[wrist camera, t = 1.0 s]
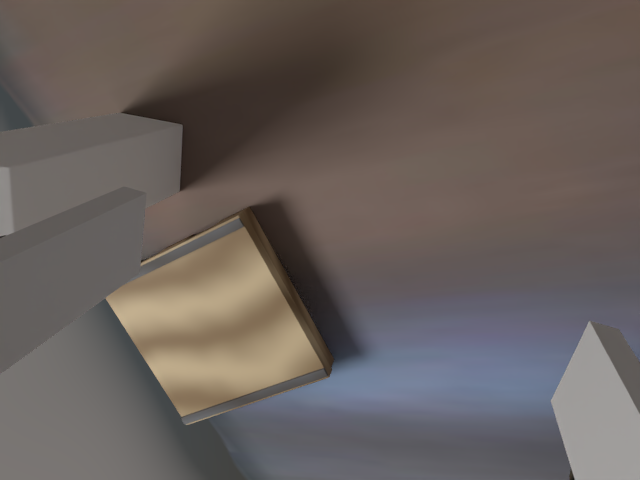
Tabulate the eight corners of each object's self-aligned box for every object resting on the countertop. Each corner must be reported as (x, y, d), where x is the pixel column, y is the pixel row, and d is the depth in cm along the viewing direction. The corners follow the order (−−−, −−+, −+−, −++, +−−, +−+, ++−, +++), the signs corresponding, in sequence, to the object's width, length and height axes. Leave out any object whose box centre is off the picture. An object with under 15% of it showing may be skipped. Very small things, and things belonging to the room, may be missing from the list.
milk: (184, 123, 43) (-43, 179, 23) (180, 192, 45) (-30, 299, 25) (118, 111, 44) (-156, 154, 24) (118, 179, 46) (-134, 272, 26)
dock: (116, 272, 50) (95, 285, 47) (251, 205, 44) (237, 216, 41) (200, 406, 53) (185, 426, 50) (335, 358, 47) (328, 378, 44)
